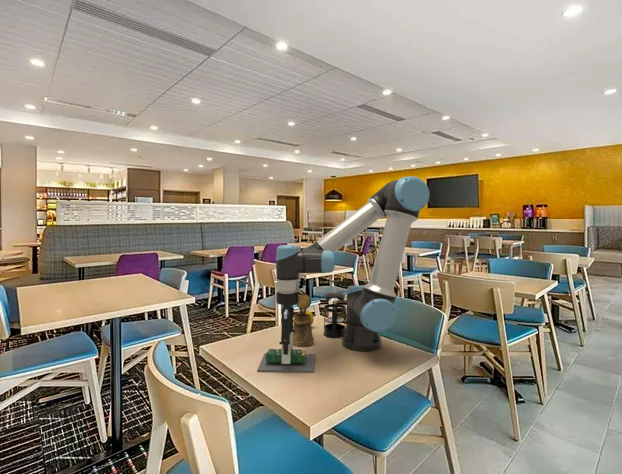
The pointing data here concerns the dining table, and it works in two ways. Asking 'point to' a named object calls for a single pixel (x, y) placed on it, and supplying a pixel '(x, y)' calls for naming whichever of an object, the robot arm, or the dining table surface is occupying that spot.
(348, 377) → the dining table surface
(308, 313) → the lemon
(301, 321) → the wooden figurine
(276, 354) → the coffee box
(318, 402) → the dining table surface
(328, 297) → the french press
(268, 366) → the mat
